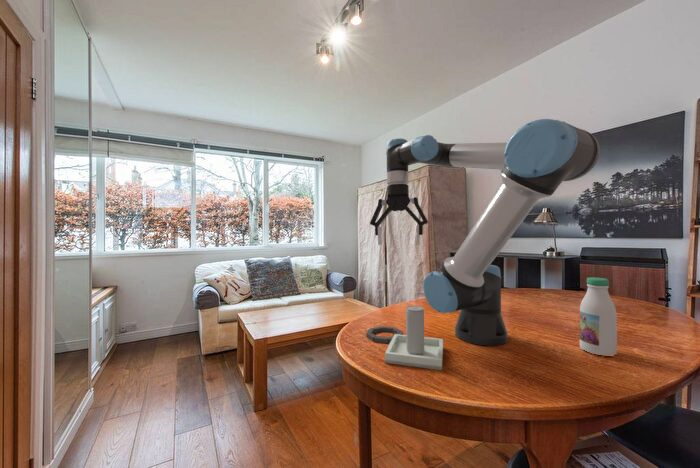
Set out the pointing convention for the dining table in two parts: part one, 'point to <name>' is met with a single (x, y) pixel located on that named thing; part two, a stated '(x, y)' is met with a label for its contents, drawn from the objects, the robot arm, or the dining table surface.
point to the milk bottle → (598, 319)
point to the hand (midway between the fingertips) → (398, 244)
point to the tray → (427, 359)
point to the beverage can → (415, 330)
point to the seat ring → (379, 329)
